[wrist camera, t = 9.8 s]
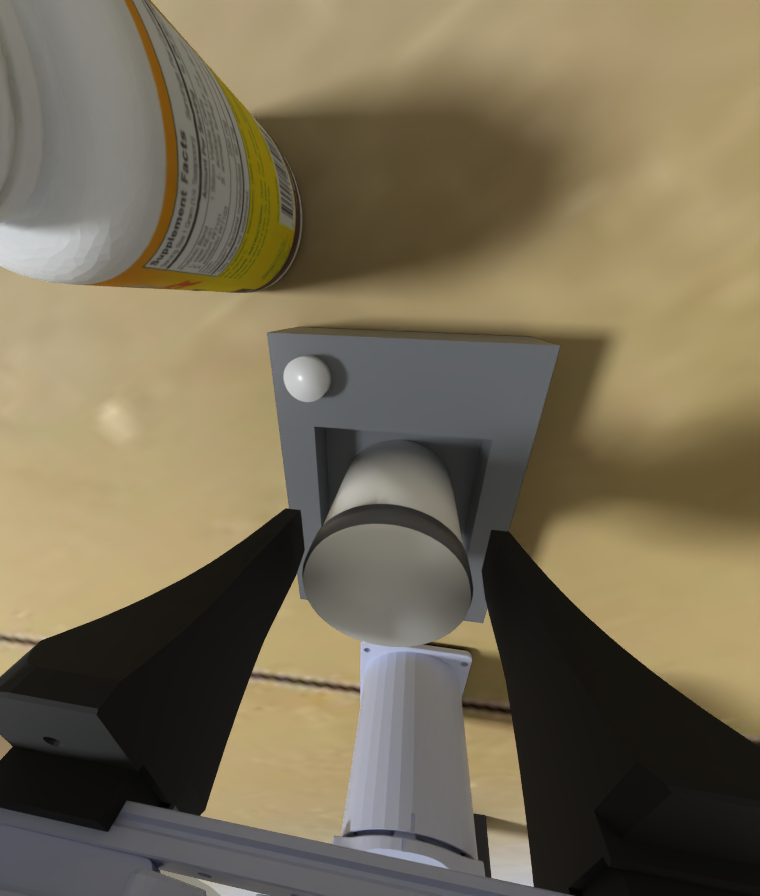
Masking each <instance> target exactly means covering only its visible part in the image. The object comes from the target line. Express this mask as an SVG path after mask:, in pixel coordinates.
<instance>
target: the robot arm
mask: <svg viewBox="0 0 760 896" xmlns="http://www.w3.org/2000/svg"><path fill="white" fill-rule="evenodd" d="M304 551H305V546H304V536H303V526H302V517H301V510H296V509H284V510H283V511H282V512H280V513H279V514H278V515H276V516H275V517H274V518H272V519H271V520H270V521H268V522H267V523H266V524H265V525H263V526H262V527H261V528H259V529H258V530H257V531H255V532H254V533H253V534H251V535H250V536H249V537H247V538H246V539H245V540H243V541H242V542H240V543H239V544H237V545H236V546H235V547H233V548H232V549H230V550H229V551H227V552H226V553H224V554H223V555H221V556H220V557H218V558H217V559H215V560H214V561H212V562H211V563H209V564H207V565H206V566H204V567H202V568H201V569H199V570H197V571H196V572H194V573H192V574H190V575H189V576H187V577H185V578H183V579H182V580H180V581H178V582H176V583H174V584H172V585H170V586H168V587H166V588H164V589H162V590H160V591H158V592H156V593H154V594H152V595H150V596H148V597H146V598H144V599H142V600H140V601H138V602H136V603H133V604H131V605H129V606H127V607H125V608H122V609H120V610H118V611H115V612H113V613H111V614H109V615H106V616H104V617H101V618H99V619H96V620H94V621H92V622H89V623H86V624H84V625H81V626H78V627H76V628H73V629H71V630H68V631H65V632H63V633H60V634H57V635H55V636H52V637H49V638H47V639H44V640H41V641H40V642H39V643H38V644H37V645H36V646H34V647H33V648H32V649H31V650H30V651H29V652H28V653H27V654H25V655H24V656H23V657H22V658H21V659H20V660H19V661H18V662H16V663H15V664H14V665H13V666H12V667H11V668H10V669H8V670H7V671H6V672H5V673H4V674H3V675H2V676H1V677H0V735H1V736H2V737H4V739H5V740H7V741H8V742H9V743H10V744H11V745H12V746H13V747H12V748H11V749H10V750H9V751H8V753H7V754H6V755H5V756H4V757H3V758H2V759H1V760H0V896H206V891H205V890H203V889H201V888H198V887H195V886H193V885H190V884H187V883H185V882H182V881H179V880H177V879H174V878H171V877H169V876H166V875H163V874H161V873H160V870H164V871H168V872H172V873H177V874H181V875H185V876H190V877H194V878H198V879H202V880H207V881H211V882H215V883H219V884H224V885H228V886H232V887H236V888H241V889H245V890H249V891H253V892H258V893H262V894H266V895H270V896H760V747H759V746H757V745H756V744H754V743H753V742H751V741H750V740H748V739H747V738H745V737H744V736H742V735H741V734H739V733H738V732H736V731H735V730H733V729H732V728H730V727H729V726H727V725H726V724H724V723H723V722H721V721H720V720H718V719H717V718H715V717H714V716H712V715H711V714H709V713H708V712H707V711H705V710H704V709H702V708H701V707H700V706H698V705H697V704H695V703H694V702H693V701H691V700H690V699H688V698H687V697H686V696H684V695H683V694H682V693H680V692H679V691H677V690H676V689H675V688H673V687H672V686H671V685H669V684H668V683H667V682H665V681H664V680H663V679H661V678H660V677H659V676H657V675H656V674H655V673H653V672H652V671H651V670H650V669H648V668H647V667H646V666H645V665H643V664H642V663H641V662H640V661H638V660H637V659H636V658H635V657H633V656H632V655H631V654H630V653H628V652H627V651H626V650H625V649H623V648H622V647H621V646H620V645H619V644H617V643H616V642H615V641H614V640H613V639H612V638H610V637H609V636H608V635H607V634H606V633H605V632H604V631H602V630H601V629H600V628H599V627H598V626H597V625H596V624H595V623H594V622H592V621H591V620H590V619H589V618H588V617H587V616H586V615H585V614H584V613H583V612H582V611H581V610H580V609H578V608H577V607H576V606H575V605H574V604H573V603H572V602H571V601H570V600H569V599H568V598H567V597H566V596H565V595H564V594H563V593H562V591H561V590H560V589H559V588H558V587H557V586H556V585H555V584H554V583H553V582H552V581H551V580H550V579H549V578H548V577H547V575H546V574H545V573H544V572H543V571H542V570H541V569H540V568H539V567H538V565H537V564H536V563H535V562H534V561H533V560H532V558H531V557H530V556H529V555H528V554H527V553H526V551H525V550H524V549H523V548H522V547H521V545H520V544H519V543H518V542H517V541H516V540H515V538H514V537H513V536H512V535H511V534H510V532H508V531H499V530H491V533H490V537H489V541H488V546H487V550H486V554H485V558H484V562H483V566H482V570H481V571H482V579H483V587H484V594H485V600H486V604H487V608H488V612H489V616H490V620H491V623H492V627H493V631H494V635H495V639H496V643H497V646H498V650H499V654H500V658H501V662H502V666H503V670H504V675H505V679H506V685H507V691H508V696H509V702H510V708H511V714H512V721H513V727H514V734H515V740H516V747H517V753H518V760H519V768H520V775H521V783H522V790H523V797H524V805H525V813H526V822H527V830H528V838H529V847H530V855H531V864H532V874H533V883H534V887H531V886H526V885H521V884H517V883H512V882H507V881H502V880H498V879H493V878H488V877H485V871H484V863H483V862H482V861H480V860H478V855H477V845H476V836H475V826H474V816H473V807H472V797H471V787H470V777H469V768H468V758H467V748H466V738H465V729H464V719H463V709H462V700H461V699H462V696H463V692H464V688H465V685H466V681H467V678H468V674H469V670H470V667H471V663H472V655H471V653H470V652H468V651H464V650H457V649H450V648H443V647H436V646H429V645H417V646H409V647H389V646H380V645H374V644H370V643H366V642H363V641H361V698H360V713H359V720H358V726H357V733H356V740H355V746H354V753H353V760H352V766H351V773H350V780H349V786H348V793H347V800H346V806H345V813H344V820H343V826H342V833H341V836H334V837H333V839H332V844H329V843H324V842H319V841H315V840H310V839H305V838H301V837H296V836H291V835H287V834H282V833H277V832H272V831H268V830H263V829H258V828H254V827H249V826H244V825H240V824H235V823H230V822H226V821H221V820H216V819H211V818H207V817H202V816H200V815H201V814H202V813H203V812H204V811H205V809H206V806H207V802H208V799H209V796H210V793H211V790H212V786H213V783H214V780H215V777H216V774H217V771H218V768H219V765H220V762H221V758H222V755H223V752H224V749H225V746H226V743H227V740H228V737H229V734H230V732H231V729H232V726H233V723H234V720H235V717H236V714H237V711H238V708H239V706H240V703H241V700H242V697H243V695H244V692H245V689H246V686H247V684H248V681H249V678H250V676H251V673H252V670H253V668H254V665H255V663H256V660H257V657H258V655H259V652H260V650H261V647H262V645H263V642H264V640H265V638H266V636H267V633H268V631H269V629H270V627H271V625H272V623H273V621H274V619H275V617H276V615H277V613H278V611H279V609H280V607H281V605H282V603H283V601H284V599H285V597H286V595H287V593H288V591H289V589H290V587H291V585H292V583H293V581H294V578H295V576H296V574H297V571H298V569H299V566H300V563H301V560H302V557H303V554H304ZM159 869H160V870H159Z"/></svg>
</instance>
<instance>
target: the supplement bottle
mask: <svg viewBox="0 0 760 896" xmlns="http://www.w3.org/2000/svg"><path fill="white" fill-rule="evenodd" d="M301 233H302V207H301V200H300V195H299V191H298V187H297V183H296V180H295V178H294V175H293V173H292V170H291V168H290V166H289V164H288V162H287V160H286V158H285V156H284V155H283V153H282V152H281V150H280V149H279V147H278V146H277V144H276V143H275V142H274V140H273V139H272V138H271V137H270V135H269V134H268V133H267V132H266V131H265V129H264V128H263V127H262V126H261V125H260V124H259V123H258V121H257V120H256V119H255V118H254V117H253V116H252V115H251V113H250V112H249V111H248V110H247V109H246V108H245V107H244V106H243V104H242V103H241V102H240V101H239V100H238V99H237V98H236V97H235V95H234V94H233V93H232V92H231V91H230V90H229V89H228V87H227V86H226V85H225V84H224V83H223V82H222V81H221V80H220V78H219V77H218V76H217V75H216V74H215V73H214V72H213V70H212V69H211V68H210V67H209V66H208V65H207V64H206V63H205V62H204V60H203V59H202V58H201V57H200V56H199V55H198V54H197V52H196V51H195V50H194V49H193V48H192V47H191V46H190V45H189V44H188V42H187V41H186V40H185V39H184V38H183V37H182V36H181V34H180V33H179V32H178V31H177V30H176V29H175V28H174V26H173V25H172V24H171V23H170V22H169V21H168V20H167V18H166V17H165V16H164V15H163V14H162V13H161V12H160V11H159V9H158V8H157V7H156V6H155V5H154V4H153V3H152V2H151V0H0V266H1V267H3V268H5V269H8V270H10V271H13V272H15V273H18V274H21V275H24V276H27V277H30V278H34V279H38V280H43V281H48V282H55V283H65V284H76V285H93V286H113V287H134V288H155V289H176V290H194V291H215V292H231V293H247V292H256V291H260V290H263V289H265V288H267V287H269V286H271V285H273V284H274V283H276V282H277V281H278V280H279V279H280V278H281V277H282V276H283V275H284V274H285V273H286V272H287V271H288V269H289V268H290V266H291V264H292V262H293V261H294V259H295V256H296V254H297V251H298V248H299V244H300V240H301Z"/></svg>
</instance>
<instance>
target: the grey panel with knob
mask: <svg viewBox="0 0 760 896" xmlns="http://www.w3.org/2000/svg"><path fill="white" fill-rule="evenodd" d="M267 336H268V344H269V352H270V360H271V368H272V376H273V384H274V392H275V400H276V408H277V416H278V424H279V432H280V440H281V448H282V456H283V464H284V472H285V480H286V488H287V496H288V504H289V509H296V510H301V517H302V526H303V536H304V546H305V551H304V554H303V557H302V560H301V563H300V566H299V569H298V571H297V576H298V584H299V592H300V599H305V600H308V598H307V596H306V594H305V590H304V585H303V577H302V570H303V564H304V560H305V557H306V555H307V553H308V551H309V549H310V546H311V544H312V542H313V540H314V538H315V536H316V534H317V532H318V531H319V530H320V528H321V527H322V526H323V524H324V522H325V520H326V518H327V515H328V513H329V511H330V509H331V506H332V504H333V502H334V499H335V497H336V495H337V493H338V490H339V488H340V486H341V484H342V481H343V479H344V477H345V474H346V472H347V470H348V468H349V466H350V464H351V462H352V461H353V459H354V458H355V457H356V456H357V455H358V453H360V452H361V451H362V450H363V449H365V448H367V447H368V446H370V445H372V444H375V443H378V442H381V441H386V440H406V441H411V442H415V443H418V444H420V445H422V446H424V447H427V448H428V449H430V450H431V451H433V452H434V453H435V454H436V455H437V456H439V458H440V459H441V460H442V461H443V462H444V464H445V465H446V467H447V469H448V471H449V473H450V477H451V481H452V486H453V492H454V498H455V504H456V509H457V515H458V521H459V527H460V532H461V538H462V544H463V547H464V549H465V551H466V553H467V557H468V560H469V565H470V570H471V576H472V581H473V598H472V602H471V605H470V608H469V610H468V612H467V614H466V616H465V618H464V619H463V621H471V622H478V623H483V622H484V618H485V615H486V611H487V604H486V600H485V594H484V587H483V579H482V571H481V570H482V566H483V562H484V558H485V554H486V550H487V546H488V541H489V537H490V533H491V530H499V531H508V532H509V528H510V525H511V521H512V518H513V514H514V510H515V507H516V503H517V500H518V496H519V492H520V489H521V485H522V482H523V478H524V474H525V471H526V467H527V464H528V460H529V456H530V453H531V449H532V446H533V442H534V438H535V435H536V431H537V428H538V424H539V420H540V417H541V413H542V410H543V406H544V402H545V399H546V395H547V392H548V388H549V384H550V381H551V377H552V374H553V370H554V366H555V363H556V359H557V356H558V352H559V348H560V345H556V344H553V343H550V342H546V341H543V340H540V339H536V338H533V337H525V336H502V335H478V334H455V333H431V332H407V331H384V330H360V329H337V328H313V327H294V328H289V329H284V330H278V331H273V332H267Z"/></svg>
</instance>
